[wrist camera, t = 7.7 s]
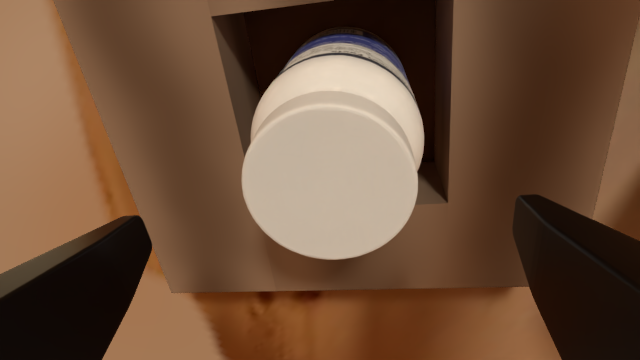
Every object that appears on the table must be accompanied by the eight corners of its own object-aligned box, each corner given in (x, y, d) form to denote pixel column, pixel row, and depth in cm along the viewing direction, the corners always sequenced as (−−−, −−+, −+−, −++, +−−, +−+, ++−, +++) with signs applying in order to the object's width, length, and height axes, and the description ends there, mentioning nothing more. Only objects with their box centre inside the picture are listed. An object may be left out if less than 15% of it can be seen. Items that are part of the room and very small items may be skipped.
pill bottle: (358, 162, 21) (351, 305, 12) (265, 101, 20) (184, 210, 11) (432, 72, 18) (490, 171, 10) (329, -4, 17) (289, 31, 8)
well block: (615, -204, 13) (704, -263, 10) (543, 233, 22) (576, 285, 18) (82, -102, 16) (4, -120, 13) (199, 246, 25) (171, 293, 21)
